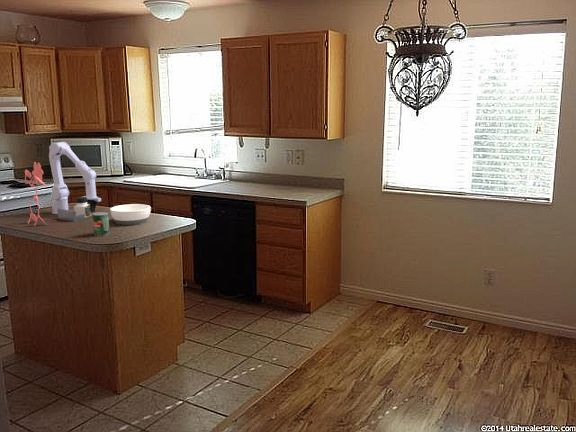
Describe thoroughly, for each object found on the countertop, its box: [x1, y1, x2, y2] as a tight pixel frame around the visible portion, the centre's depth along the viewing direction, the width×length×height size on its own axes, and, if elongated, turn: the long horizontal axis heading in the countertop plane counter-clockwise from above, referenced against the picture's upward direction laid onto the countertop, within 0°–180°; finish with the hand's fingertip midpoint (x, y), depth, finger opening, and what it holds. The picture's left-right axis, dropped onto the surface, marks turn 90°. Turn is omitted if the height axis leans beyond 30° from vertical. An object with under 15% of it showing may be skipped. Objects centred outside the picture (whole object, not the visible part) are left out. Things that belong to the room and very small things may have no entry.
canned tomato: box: [91, 211, 111, 237], centre depth 278 cm, size 8×8×11 cm
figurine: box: [24, 161, 56, 227], centre depth 302 cm, size 15×26×35 cm, turn 47°
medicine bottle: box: [73, 196, 92, 219], centre depth 321 cm, size 7×7×12 cm
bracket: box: [57, 209, 86, 223], centre depth 314 cm, size 14×9×6 cm, turn 60°
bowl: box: [109, 203, 152, 226], centre depth 307 cm, size 22×22×8 cm
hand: (92, 212), depth 327 cm, fingers closed
